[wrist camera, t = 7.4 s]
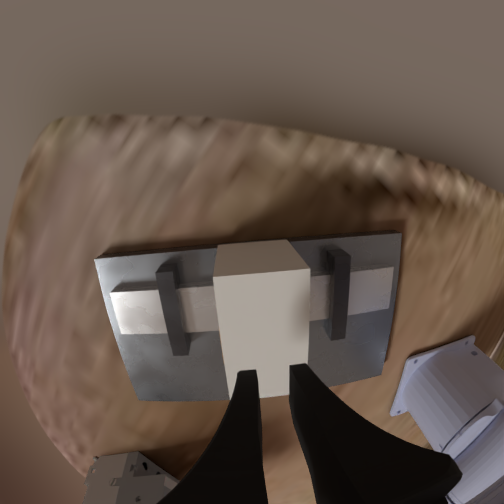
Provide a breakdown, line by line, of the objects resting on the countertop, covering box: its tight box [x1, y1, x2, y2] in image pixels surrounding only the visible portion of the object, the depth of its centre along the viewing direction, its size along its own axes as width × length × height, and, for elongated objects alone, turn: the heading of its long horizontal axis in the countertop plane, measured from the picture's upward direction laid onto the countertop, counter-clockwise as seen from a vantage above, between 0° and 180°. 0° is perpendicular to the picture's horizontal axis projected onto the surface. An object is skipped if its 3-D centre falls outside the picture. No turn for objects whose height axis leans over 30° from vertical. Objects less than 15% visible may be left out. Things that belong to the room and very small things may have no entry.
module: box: [213, 239, 310, 400], centre depth 15 cm, size 4×7×5 cm, turn 3°
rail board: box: [95, 230, 402, 401], centre depth 18 cm, size 20×12×2 cm, turn 94°
